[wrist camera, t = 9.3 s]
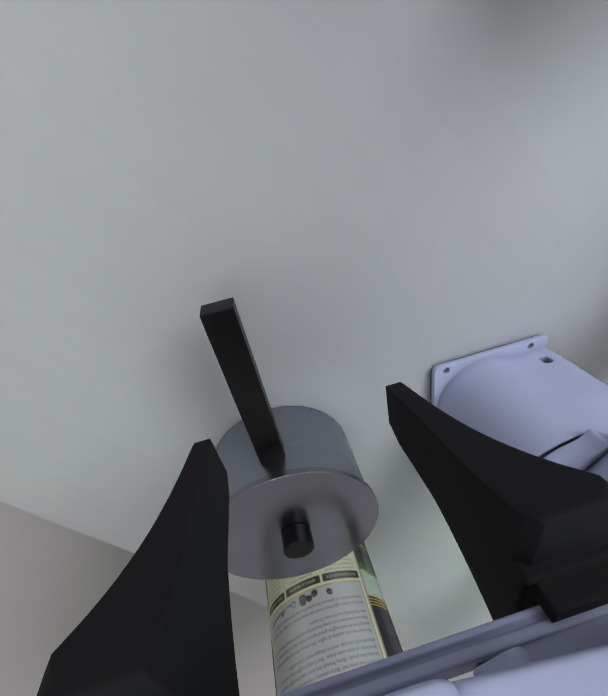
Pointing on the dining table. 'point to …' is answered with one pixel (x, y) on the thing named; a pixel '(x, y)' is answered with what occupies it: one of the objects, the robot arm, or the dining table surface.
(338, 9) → the dining table surface
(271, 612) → the coffee can
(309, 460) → the saucepan
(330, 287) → the dining table surface
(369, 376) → the dining table surface
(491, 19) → the dining table surface
